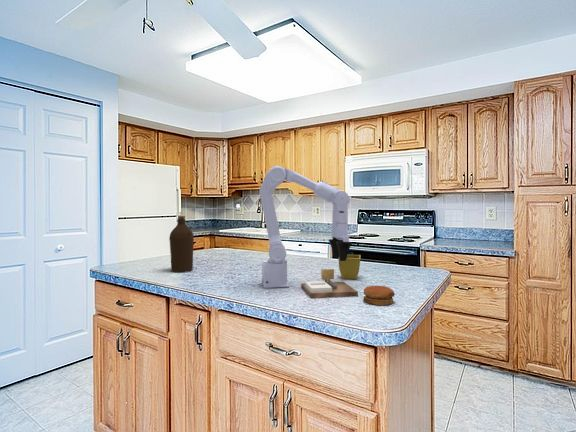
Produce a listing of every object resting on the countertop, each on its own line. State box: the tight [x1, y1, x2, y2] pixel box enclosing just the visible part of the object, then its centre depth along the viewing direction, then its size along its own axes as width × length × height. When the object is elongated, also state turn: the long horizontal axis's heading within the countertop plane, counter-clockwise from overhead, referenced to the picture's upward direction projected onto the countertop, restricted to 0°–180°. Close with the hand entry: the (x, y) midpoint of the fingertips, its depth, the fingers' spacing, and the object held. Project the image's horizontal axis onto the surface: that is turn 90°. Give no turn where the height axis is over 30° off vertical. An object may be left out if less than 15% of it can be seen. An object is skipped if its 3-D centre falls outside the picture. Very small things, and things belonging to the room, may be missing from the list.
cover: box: [304, 280, 332, 293], centre depth 122 cm, size 7×10×2 cm
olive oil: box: [168, 215, 195, 273], centre depth 163 cm, size 11×11×25 cm
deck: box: [300, 281, 359, 299], centre depth 124 cm, size 16×15×2 cm
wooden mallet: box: [320, 268, 337, 289], centre depth 126 cm, size 4×10×5 cm, turn 10°
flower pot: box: [337, 254, 361, 280], centre depth 147 cm, size 9×9×9 cm
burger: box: [362, 285, 395, 306], centre depth 112 cm, size 10×9×5 cm
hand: (339, 259), depth 134 cm, fingers open, 7 cm apart
